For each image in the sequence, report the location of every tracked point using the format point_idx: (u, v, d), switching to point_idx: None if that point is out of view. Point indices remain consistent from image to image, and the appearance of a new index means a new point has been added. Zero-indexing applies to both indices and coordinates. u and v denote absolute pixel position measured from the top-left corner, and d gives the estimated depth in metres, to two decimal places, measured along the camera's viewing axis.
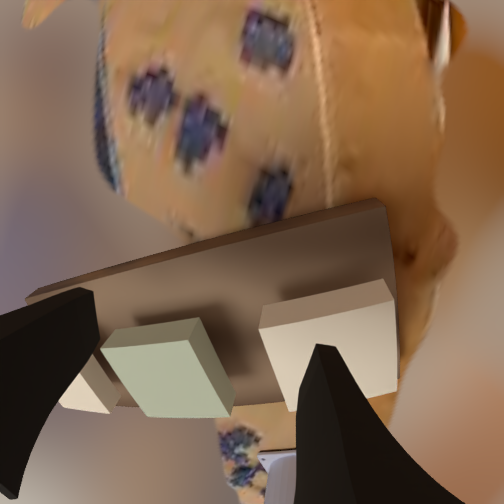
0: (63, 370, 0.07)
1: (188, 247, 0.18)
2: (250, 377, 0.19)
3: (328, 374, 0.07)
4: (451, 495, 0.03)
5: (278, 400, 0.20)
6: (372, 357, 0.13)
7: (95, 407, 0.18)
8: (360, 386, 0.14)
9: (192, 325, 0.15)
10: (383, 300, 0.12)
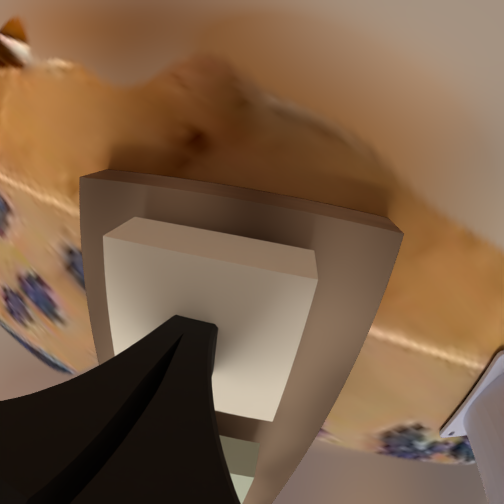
0: None
1: None
2: None
3: (181, 345, 0.07)
4: (231, 498, 0.03)
5: (330, 405, 0.13)
6: (197, 297, 0.08)
7: None
8: (260, 333, 0.08)
9: None
10: None
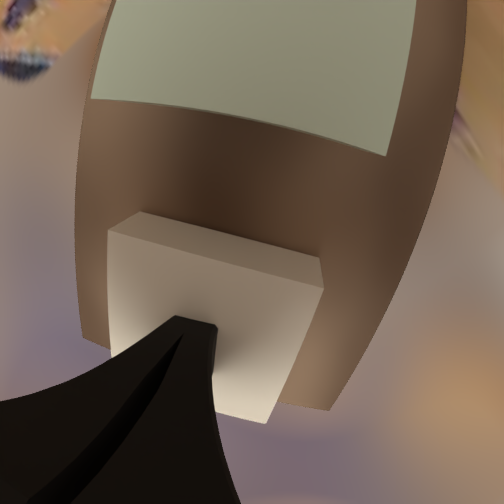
0: None
1: None
2: None
3: (181, 345, 0.07)
4: (231, 499, 0.03)
5: None
6: None
7: (288, 319, 0.08)
8: None
9: None
10: None
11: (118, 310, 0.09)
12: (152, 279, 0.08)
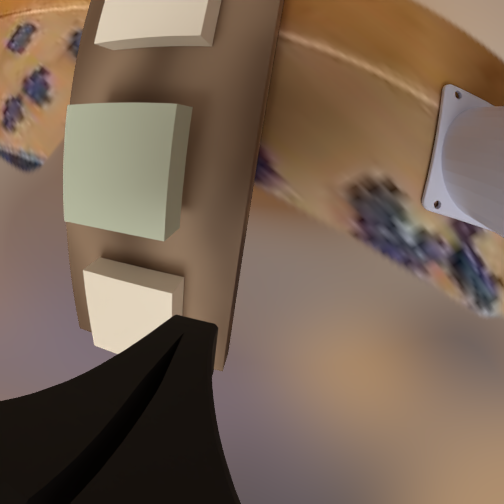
0: None
1: None
2: (206, 96, 0.14)
3: (181, 345, 0.07)
4: (231, 498, 0.03)
5: (263, 79, 0.13)
6: None
7: (161, 308, 0.16)
8: None
9: None
10: None
11: (92, 307, 0.17)
12: (104, 291, 0.17)
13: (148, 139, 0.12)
